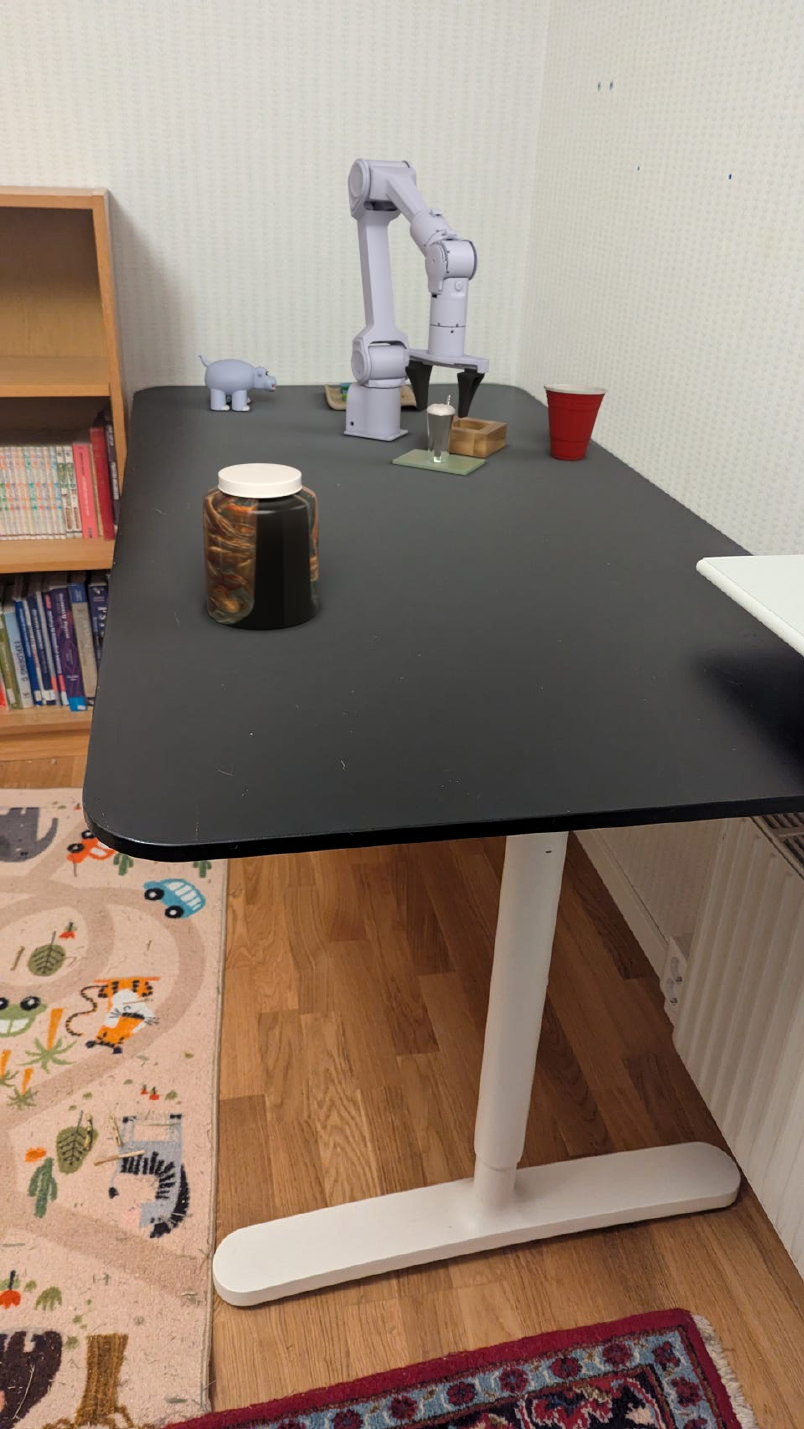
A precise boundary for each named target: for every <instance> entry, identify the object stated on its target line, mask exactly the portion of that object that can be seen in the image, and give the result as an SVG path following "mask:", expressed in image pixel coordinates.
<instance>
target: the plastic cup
mask: <svg viewBox="0 0 804 1429" xmlns="http://www.w3.org/2000/svg"><path fill="white" fill-rule="evenodd" d="M543 389H544V391H545V394H546V403H547V415H548V436H549V444H550V448H549V449H550V455H551V456H552V457H553V458H555V459H559V460H565V461H580V460H583V459H585V455H586V454H587V450H588V447H589V443H590V441H591V438H592V435H593V431H594V427H595V424H596V421H597V418H598V414H599V410H600V408H601V406H602V402H603V401H604V397H605V395H606V394H607V393H608V391H609V389H608V388H605V387H600V386H594V385H585V384H574V383H573V384H572V383H571V384H570V383H549V384H544V385H543Z"/></svg>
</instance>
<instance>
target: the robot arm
mask: <svg viewBox="0 0 804 1429" xmlns="http://www.w3.org/2000/svg"><path fill="white" fill-rule="evenodd" d="M347 190H348V191H347V193H348V203H349V209H350V216H351V218H353V219H354V220H356V225H357V226H356V227H357V239H358V249H359V250H358V251H359V261H360V262H359V263H360V272H361V273H360V274H361V275H360V276H361V286H362V298H363V310H364V320H365V321H364V322H365V326H364V328H362V330H361V331H359V333H357V334H356V336H355V337H354V338H353V339H352V342H351V343H352V344H351V346H352V350H351V351H352V353H351V357H350V358H351V359H350V367H351V372H352V375H353V378H354V379H355V380H356V381H352V382H353V383H352V384H351V385H350V387H349V389H348V392H347V398H346V410H345V430H344V431H343V434H344V435H347V436H354V437H361V438H367V439H374V440H379V441H386V442H392V441H394V440H396V439H398V438H400V437H402V436H405V435H406V434H408V433H409V430H408V429H403V428H402V429H401V412H402V409H401V408H402V406H401V389H402V385H406V381H407V380H409V383H410V385H411V388H412V392H413V394H414V396H415V401H416V406H417V408H416V411H417V412H422V411H427V408H428V405H429V404H428V403H429V389H430V388H429V387H430V381H431V375H432V371H433V368H434V366H435V367H440V368H441V367H442V368H449V369H454V370H462V371H459V372H457V373H456V379H457V387H458V403H457V416H458V418H464V417H467V418H468V416H469V413H470V408H471V405H472V402H473V399H474V397H475V395H476V392H477V391H478V389H479V387H480V385H481V383H482V382H483V380H484V378H485V376H486V373H488V372H489V369H490V368H489V367H490V359H489V358H483V357H478V356H474V355H470V354H466V353H465V342H466V326H467V315H468V314H467V313H468V301H469V300H468V299H469V284H470V281H471V280H473V279H474V277H475V276H476V274H477V271H478V268H479V267H478V266H479V255H478V254H479V253H478V250H477V247H476V245H475V243H474V240H471V239H469V238H467V239H464V238H463V237H459V236H458V234H457V233H456V232H455V230H454V229H453V228H452V226H451V225H450V224H449V222H448V221H447V218H445V216H444V214H443V211H442V210H441V209H440V208H434V207H428V205H427V203H426V201H425V199H424V197H423V196H422V194H421V192H420V190H419V189H418V187H417V171H416V169H415V168H414V167H413V165H412V163H411V162H410V161H408V160H405V159H404V160H399V161H398V160H384V159H383V160H382V159H381V160H380V159H365V158H362V157H358V158H356V159H355V160H354V162H353V164H352V165H351V167H350V171H349V173H348V177H347ZM401 214H402V215H403V216H404V218H405V219H406V220H407V221H408V223H410V225H409V235H410V237H411V239H412V240H413V242H414V243H415V245H416V246H417V248H418V249H419V251H420V252H421V253H422V256H424V269H425V273H426V276H427V290H428V292H429V293H430V303H429V304H430V305H429V321H428V322H429V324H428V342H427V349H420V348H411V347H410V343H409V336H408V335H407V333H405V332H404V331H403V330H402V329H401V328H400V327H399V326H397V325H396V320H395V308H394V296H393V284H392V269H391V256H390V246H389V244H390V242H389V232H388V231H389V230H388V227H389V225H390V224H391V221H394V220H397V219H398V218H399V217H400V215H401ZM380 344H381V345H380ZM382 344H383V345H382Z"/></svg>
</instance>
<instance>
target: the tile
mask: <svg viewBox="0 0 804 1429" xmlns="http://www.w3.org/2000/svg"><path fill="white" fill-rule="evenodd" d="M392 464H394V465H398V466H405V467H412V468H418V469H424V470H431V471H437V472H443V473H448V474H456V475H462V476H467V475H468V474H470V473H472V472H473V471H475V470H477V469H478V468H480V467H482V466H484V465H485V464H486V459H484V458H483V459H482V458H478V457H470V456H465V455H458V454H451V453H449V457H448V461H446V462H441V463H439V462H432V461H429V459H428V450H425V449H420V448H419V449H417V448H413V449H412V450H410V451H407V452H405V453H404V454H402V455H400V456H397V457H396V458H394V459H392Z"/></svg>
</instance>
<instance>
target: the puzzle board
mask: <svg viewBox="0 0 804 1429" xmlns="http://www.w3.org/2000/svg"><path fill="white" fill-rule="evenodd" d="M353 382H354V381H352V382H340V385H339V386H340V388H332V387H330V386H329V385H328V384H327V383H325V384H324V386H323V387H324V388H323V389H324V392H325V398H326V402H327V404H328V406H329V407H331V408H332V409H333V410H335V411H346V398H347V392H348V389H349V387H350V385H351V384H352V383H353ZM407 406H408V407H409V406H412V407H415V408H416V409H417V406H416V401H415V396H414V392H413V389H411V388H410V387H409V386H408V385H406V384H405V385H402V389H401V407H407Z"/></svg>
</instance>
